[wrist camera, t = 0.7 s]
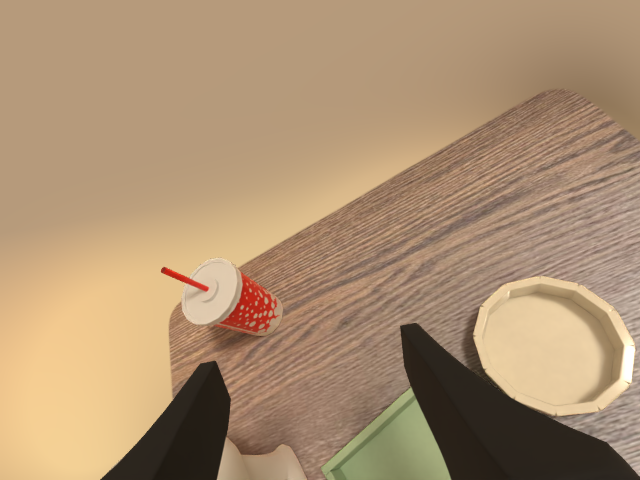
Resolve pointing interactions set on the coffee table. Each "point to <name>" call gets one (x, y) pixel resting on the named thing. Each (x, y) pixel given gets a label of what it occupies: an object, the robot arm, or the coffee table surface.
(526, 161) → the coffee table surface
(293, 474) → the toy character
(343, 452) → the tray
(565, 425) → the robot arm
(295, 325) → the coffee table surface
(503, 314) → the beige round bowl
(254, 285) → the beverage cup
